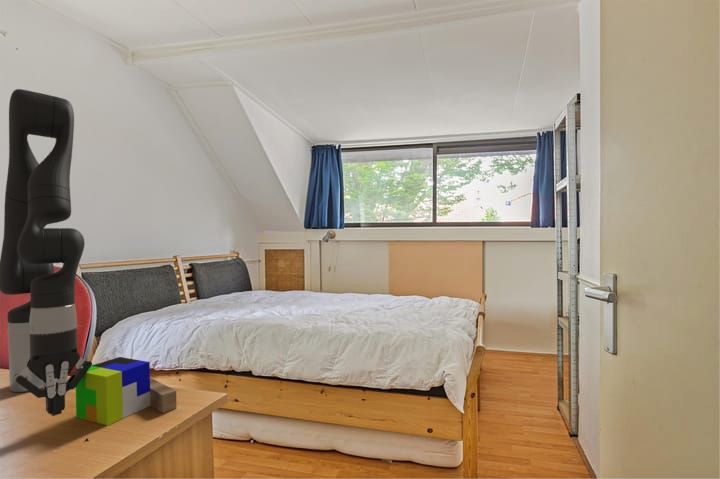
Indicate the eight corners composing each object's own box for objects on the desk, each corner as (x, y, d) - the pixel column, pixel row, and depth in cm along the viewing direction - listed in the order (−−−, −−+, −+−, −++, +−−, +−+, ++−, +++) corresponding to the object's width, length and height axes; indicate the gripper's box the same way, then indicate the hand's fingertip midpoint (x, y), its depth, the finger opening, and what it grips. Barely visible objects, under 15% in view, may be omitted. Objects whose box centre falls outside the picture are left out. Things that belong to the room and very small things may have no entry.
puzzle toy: (150, 405, 91) (149, 362, 91) (107, 425, 82) (106, 376, 82) (120, 398, 95) (119, 356, 95) (76, 416, 86) (75, 370, 86)
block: (125, 390, 100) (125, 374, 100) (138, 386, 102) (138, 371, 102) (162, 413, 87) (162, 395, 87) (176, 408, 89) (176, 390, 89)
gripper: (86, 319, 88) (87, 398, 88) (6, 331, 77) (8, 420, 78) (98, 324, 83) (99, 407, 83) (15, 337, 73) (17, 432, 73)
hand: (55, 413), depth 80 cm, fingers closed
